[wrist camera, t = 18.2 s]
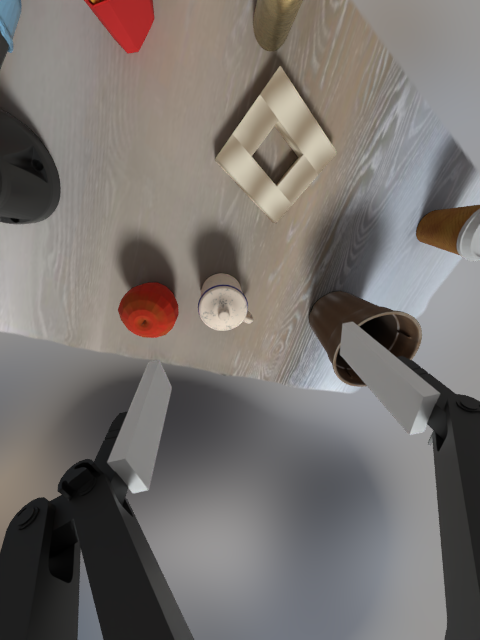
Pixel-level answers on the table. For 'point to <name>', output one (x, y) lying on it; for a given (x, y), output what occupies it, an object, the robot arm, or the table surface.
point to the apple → (149, 310)
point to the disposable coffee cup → (453, 231)
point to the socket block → (299, 132)
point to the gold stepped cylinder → (274, 21)
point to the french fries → (125, 20)
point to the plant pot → (379, 322)
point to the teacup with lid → (223, 303)
